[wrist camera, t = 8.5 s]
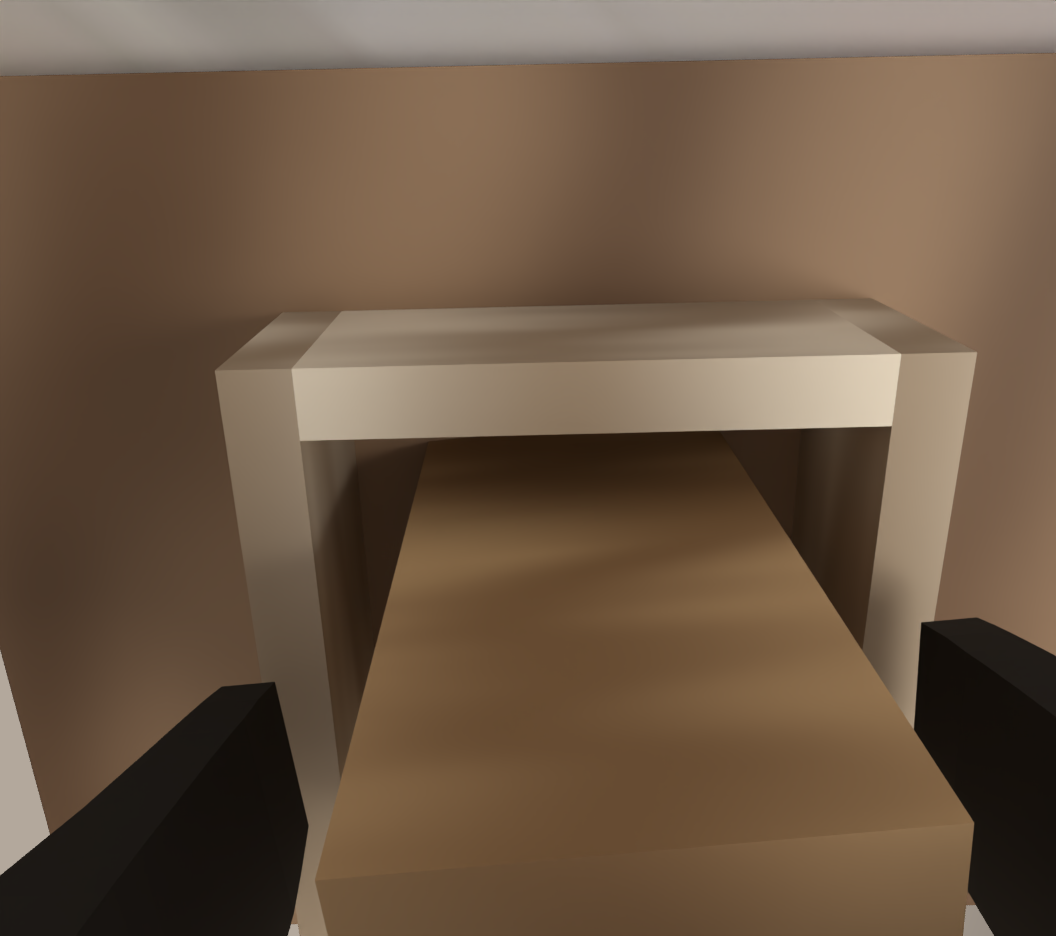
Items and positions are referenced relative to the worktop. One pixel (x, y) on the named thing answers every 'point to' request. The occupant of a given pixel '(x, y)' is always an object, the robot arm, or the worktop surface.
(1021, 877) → the robot arm
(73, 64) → the worktop surface
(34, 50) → the worktop surface
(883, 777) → the oak peg
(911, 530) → the walnut board
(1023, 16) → the worktop surface
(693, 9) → the worktop surface
